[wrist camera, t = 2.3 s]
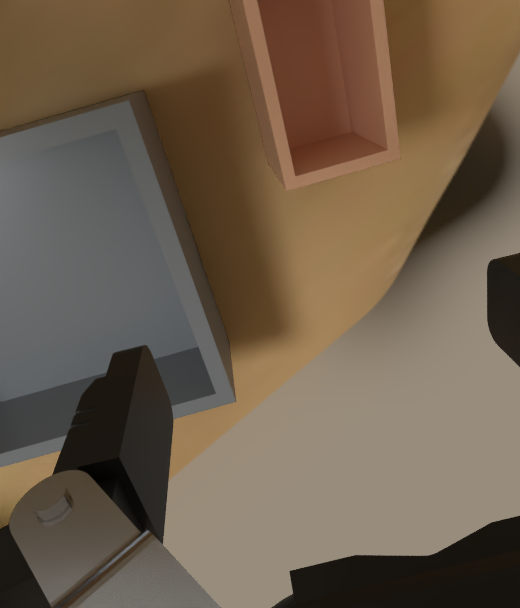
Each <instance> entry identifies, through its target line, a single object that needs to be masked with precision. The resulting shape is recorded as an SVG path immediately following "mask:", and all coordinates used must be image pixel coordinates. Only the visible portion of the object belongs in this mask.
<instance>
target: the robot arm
mask: <svg viewBox="0 0 520 608" xmlns="http://www.w3.org/2000/svg"><path fill="white" fill-rule="evenodd" d="M487 320H488V326H489V330H490V333H491V335H492V337H493V339H494V341H495V342H496V343H497V345H498V346H499V347H500V348H501V349H502V350H503V351H504V352H505V353H506V354H507V355H508V356H509V357H510V358H511V359H512V360H513V361H514V362H515V363H516V364H517V365H518V366H519V367H520V253H518V254H514V255H510V256H506V257H502V258H498V259H493V260H492V261H490V263H489V265H488V269H487ZM70 426H71V429H69V431H68V433H67V436H66V439H65V442H64V444H63V447H62V450H61V453H60V455H59V458H58V461H57V463H56V466H55V469H54V472H53V474H52V476H50V477H48V478H46V479H44V480H42V481H41V482H39V483H38V484H36V485H35V486H34V487H32V488H31V489H30V490H29V491H28V492H27V493H26V494H25V495H24V496H23V497H22V498H21V499H20V501H19V502H18V503H17V505H16V506H15V508H14V510H13V512H12V514H11V517H10V522H9V524H8V525H7V526H5V527H3V528H1V529H0V608H221V607H220V606H219V605H218V604H217V603H216V602H215V601H214V600H213V599H212V598H211V597H210V596H209V594H208V593H207V592H206V591H205V590H204V589H203V588H202V587H201V586H200V585H199V584H198V583H197V581H196V580H195V579H194V578H193V577H192V576H191V575H190V574H189V573H188V572H187V571H186V569H184V567H183V566H182V565H181V564H180V563H179V562H178V561H177V560H176V559H175V558H174V556H173V555H172V554H171V553H170V552H169V551H168V550H167V549H166V548H165V547H164V546H163V536H164V524H165V512H166V502H167V490H168V479H169V467H170V456H171V444H172V433H173V412H172V406H171V402H170V399H169V396H168V393H167V391H166V388H165V386H164V383H163V381H162V378H161V376H160V373H159V371H158V368H157V366H156V363H155V361H154V358H153V356H152V353H151V351H150V349H149V348H148V346H147V345H142V346H138V347H134V348H130V349H126V350H122V351H118V352H114V353H113V355H112V357H111V360H110V364H109V367H108V370H107V373H106V376H105V377H101V378H97V379H95V380H94V381H93V382H92V384H91V385H90V386H89V387H88V388H87V389H86V390H85V392H84V393H83V394H82V395H81V398H80V401H79V403H78V406H77V409H76V415H74V417H73V420H72V422H71V425H70ZM290 577H291V583H292V589H293V594H292V595H290V596H288V597H287V598H285V599H283V600H282V601H280V602H279V603H277V604H276V605H275V606H273V607H272V608H520V516H517V517H513V518H509V519H504V520H500V521H496V522H492V523H490V524H488V525H486V526H485V527H483V528H481V529H479V530H477V531H476V532H474V533H472V534H470V535H469V536H467V537H465V538H463V539H461V540H460V541H457V542H456V543H454V544H452V545H450V546H448V547H447V548H445V549H443V550H441V551H439V552H438V553H435V554H433V555H429V556H373V555H371V556H370V555H368V556H367V555H355V556H351V557H346V558H342V559H338V560H334V561H329V562H325V563H321V564H317V565H313V566H309V567H304V568H300V569H296V570H292V571H290Z"/></svg>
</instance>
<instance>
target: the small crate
mask: <svg viewBox="0 0 520 608" xmlns="http://www.w3.org/2000/svg"><path fill="white" fill-rule="evenodd" d="M229 2H230V6H231V11H232V15H233V19H234V23H235V27H236V31H237V36H238V40H239V44H240V48H241V52H242V56H243V60H244V65H245V69H246V73H247V77H248V81H249V85H250V89H251V94H252V98H253V102H254V106H255V110H256V114H257V118H258V123H259V127H260V131H261V135H262V139H263V143H264V148H265V152H266V156H267V160H268V164H269V165H270V167H271V168H272V170H273V171H274V173H275V175H276V176H277V178H278V179H279V181H280V182H281V184H282V185H283V187H284V188H285V190H286V191H289V190H293V189H296V188H300V187H303V186H307V185H310V184H314V183H317V182H321V181H324V180H328V179H331V178H335V177H338V176H342V175H345V174H349V173H353V172H356V171H360V170H363V169H367V168H370V167H374V166H377V165H381V164H384V163H388V162H391V161H395V160H398V159H401V155H400V146H399V137H398V128H397V119H396V110H395V101H394V92H393V82H392V73H391V64H390V55H389V46H388V37H387V28H386V19H385V10H384V1H383V0H229Z"/></svg>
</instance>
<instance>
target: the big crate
mask: <svg viewBox="0 0 520 608" xmlns="http://www.w3.org/2000/svg"><path fill="white" fill-rule="evenodd" d="M142 345H147V346H148V348H149V349H150V351H151V353H152V356H153V358H154V361H155V363H156V366H157V368H158V371H159V373H160V376H161V378H162V381H163V383H164V386H165V388H166V391H167V393H168V396H169V399H170V402H171V406H172V412H173V419H176V418H179V417H183V416H186V415H190V414H194V413H197V412H201V411H204V410H208V409H211V408H215V407H219V406H222V405H226V404H229V403H233V402H236V396H235V388H234V379H233V370H232V361H231V352H230V344H229V340H228V337H227V334H226V331H225V328H224V325H223V322H222V319H221V316H220V314H219V311H218V308H217V305H216V302H215V299H214V296H213V293H212V290H211V287H210V284H209V281H208V278H207V275H206V272H205V269H204V266H203V263H202V260H201V257H200V255H199V252H198V249H197V246H196V243H195V240H194V237H193V234H192V231H191V228H190V225H189V222H188V219H187V216H186V213H185V210H184V207H183V204H182V201H181V198H180V196H179V193H178V190H177V187H176V184H175V181H174V178H173V175H172V172H171V169H170V166H169V163H168V160H167V157H166V154H165V151H164V148H163V145H162V142H161V139H160V137H159V134H158V131H157V128H156V125H155V122H154V119H153V116H152V113H151V110H150V107H149V104H148V101H147V98H146V95H145V92H144V90H142V91H139V92H135V93H132V94H128V95H125V96H121V97H118V98H114V99H111V100H107V101H104V102H100V103H97V104H93V105H90V106H87V107H83V108H80V109H76V110H73V111H69V112H66V113H62V114H59V115H55V116H52V117H48V118H45V119H41V120H38V121H35V122H31V123H28V124H24V125H21V126H17V127H14V128H10V129H7V130H3V131H0V467H3V466H7V465H10V464H14V463H18V462H21V461H25V460H28V459H32V458H36V457H39V456H43V455H46V454H50V453H54V452H57V451H61V450H62V447H63V444H64V442H65V439H66V436H67V433H68V431H69V429H71V426H70V425H71V422H72V420H73V417H74V415H76V409H77V406H78V403H79V401H80V398H81V395H82V394H83V393H84V392H85V390H86V389H87V388H88V387H89V386H90V385H91V384H92V382H93V381H94V380H95V379H97V378H101V377H105V376H106V373H107V370H108V367H109V364H110V360H111V357H112V355H113V353H114V352H118V351H122V350H126V349H130V348H134V347H138V346H142Z"/></svg>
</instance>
